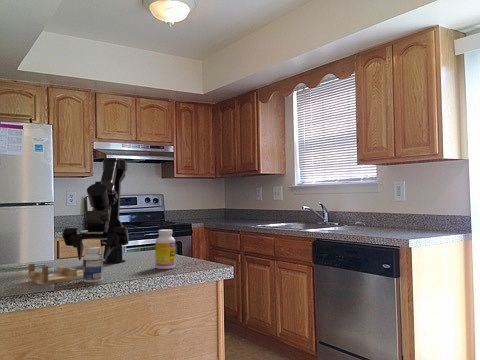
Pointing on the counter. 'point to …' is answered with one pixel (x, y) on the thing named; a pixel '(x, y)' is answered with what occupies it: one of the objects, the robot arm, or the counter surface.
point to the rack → (53, 275)
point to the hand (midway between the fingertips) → (91, 258)
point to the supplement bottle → (165, 250)
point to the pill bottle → (92, 265)
